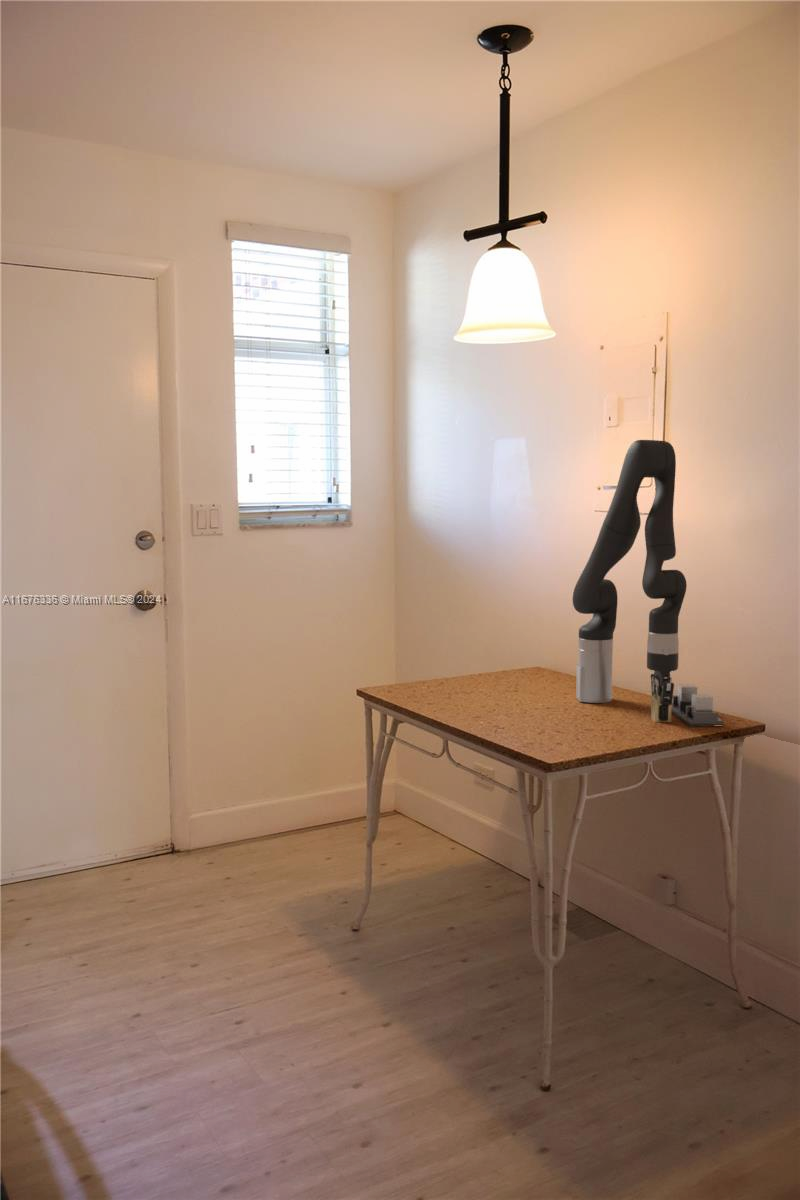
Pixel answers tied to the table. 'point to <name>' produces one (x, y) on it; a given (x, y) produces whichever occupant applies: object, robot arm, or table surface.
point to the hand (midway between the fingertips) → (661, 718)
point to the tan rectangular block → (656, 709)
